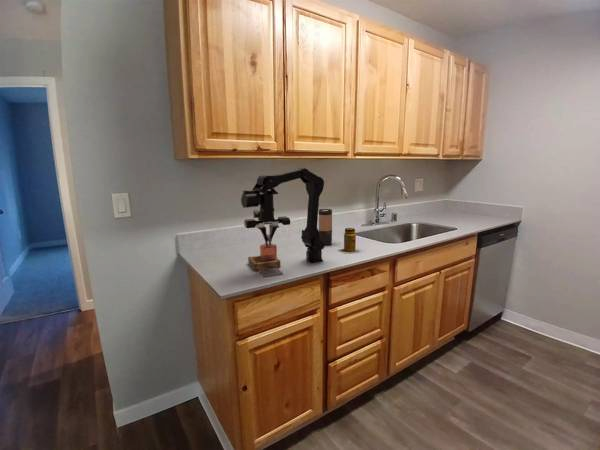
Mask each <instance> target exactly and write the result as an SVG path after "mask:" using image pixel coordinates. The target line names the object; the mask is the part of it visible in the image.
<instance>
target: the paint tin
mask: <svg viewBox="0 0 600 450" xmlns="http://www.w3.org/2000/svg"><path fill="white" fill-rule="evenodd" d="M266 234H267V242H265V241H264V244H260V245H259V251H260V252H259V253H260V254H259V256H260V257H261V261H264V262H271V261H275V260H277V258H278V254H277V251H278V249H277V247H278V246H277V244H274V243H272V242H273V238H272V237H270V236H269V234H268V233H266Z"/></svg>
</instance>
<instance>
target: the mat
mask: <svg viewBox="0 0 600 450" xmlns="http://www.w3.org/2000/svg"><path fill="white" fill-rule="evenodd" d="M258 272H259V273H260V274H261V276H262V277H263V278H271V277H276V276H282V275H284V273H283V272H282V271H281V270H280V268H271V269H264V270H259V271H258Z"/></svg>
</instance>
